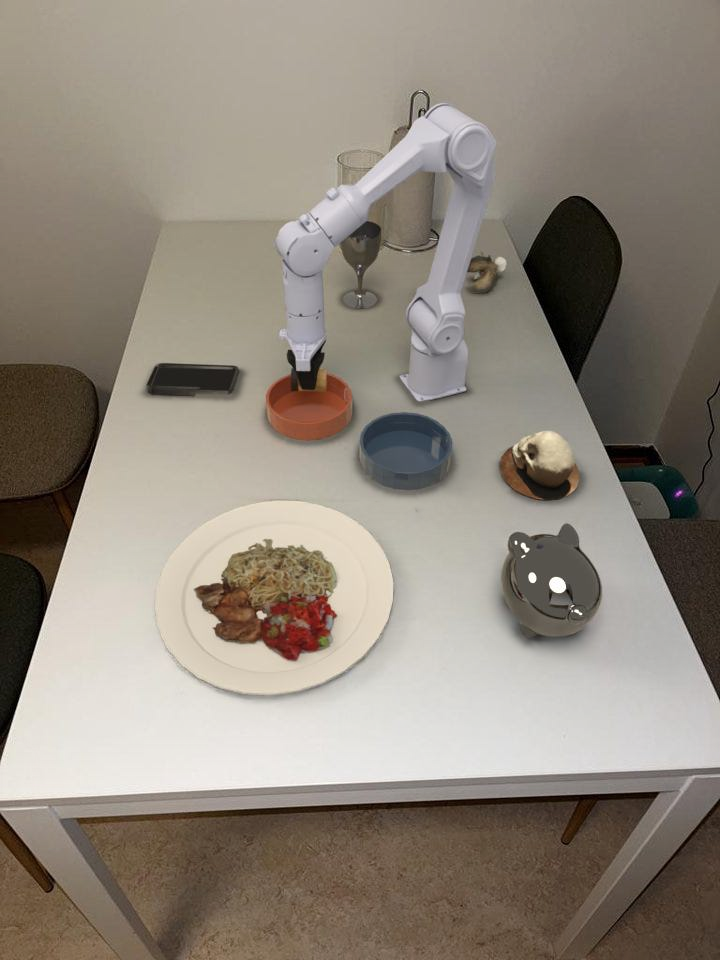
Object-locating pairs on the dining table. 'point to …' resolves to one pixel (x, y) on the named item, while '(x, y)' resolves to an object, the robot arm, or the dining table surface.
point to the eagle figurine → (485, 272)
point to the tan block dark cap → (320, 383)
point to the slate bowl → (405, 451)
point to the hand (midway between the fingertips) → (309, 382)
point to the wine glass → (361, 260)
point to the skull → (541, 466)
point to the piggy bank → (550, 583)
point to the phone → (192, 379)
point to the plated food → (274, 597)
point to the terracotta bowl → (309, 409)
